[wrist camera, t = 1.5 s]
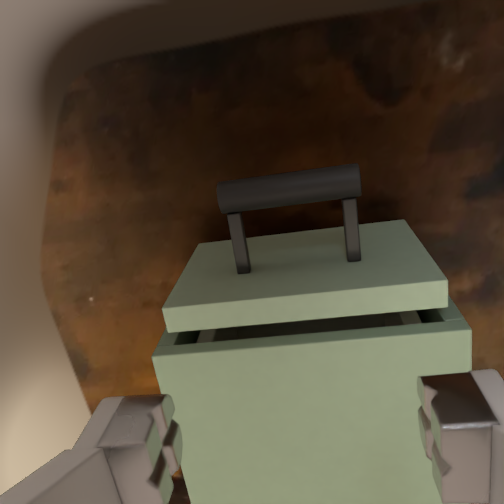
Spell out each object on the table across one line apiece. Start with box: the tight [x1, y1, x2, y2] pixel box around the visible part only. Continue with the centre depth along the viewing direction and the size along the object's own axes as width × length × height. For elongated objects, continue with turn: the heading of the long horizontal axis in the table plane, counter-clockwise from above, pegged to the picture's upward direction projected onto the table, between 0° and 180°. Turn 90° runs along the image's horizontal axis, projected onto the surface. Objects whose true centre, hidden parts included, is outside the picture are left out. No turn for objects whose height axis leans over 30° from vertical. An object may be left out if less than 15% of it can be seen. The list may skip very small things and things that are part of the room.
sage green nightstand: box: [152, 295, 472, 504], centre depth 25 cm, size 15×13×10 cm
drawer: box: [162, 163, 448, 343], centre depth 24 cm, size 18×11×8 cm, turn 9°
